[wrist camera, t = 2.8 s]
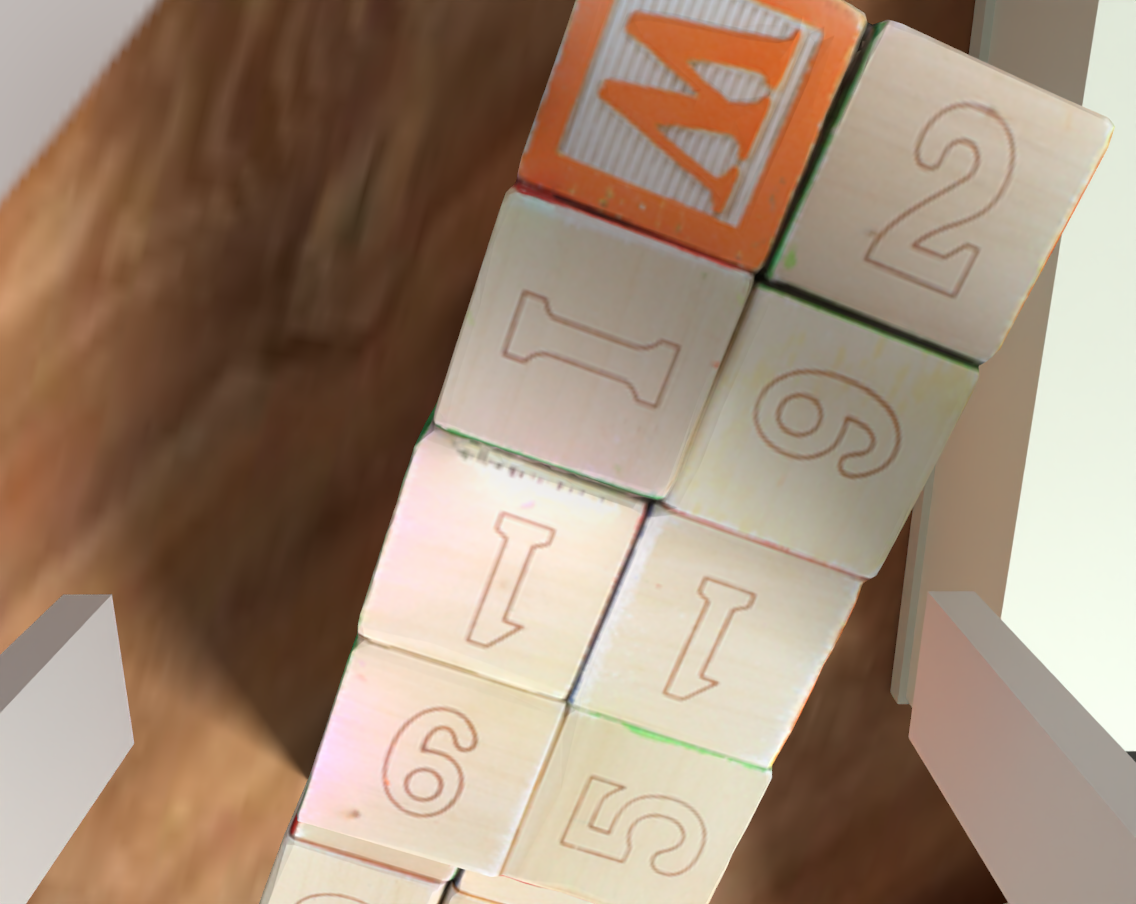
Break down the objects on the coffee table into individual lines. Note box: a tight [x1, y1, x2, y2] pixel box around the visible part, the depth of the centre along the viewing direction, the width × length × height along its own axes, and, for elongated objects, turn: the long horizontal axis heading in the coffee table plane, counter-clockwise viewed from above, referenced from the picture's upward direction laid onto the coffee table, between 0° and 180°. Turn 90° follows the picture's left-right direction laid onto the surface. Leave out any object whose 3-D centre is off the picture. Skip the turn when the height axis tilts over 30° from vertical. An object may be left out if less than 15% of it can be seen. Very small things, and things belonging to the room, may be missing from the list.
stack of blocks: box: [259, 0, 1115, 904], centre depth 19 cm, size 21×6×12 cm, turn 159°
